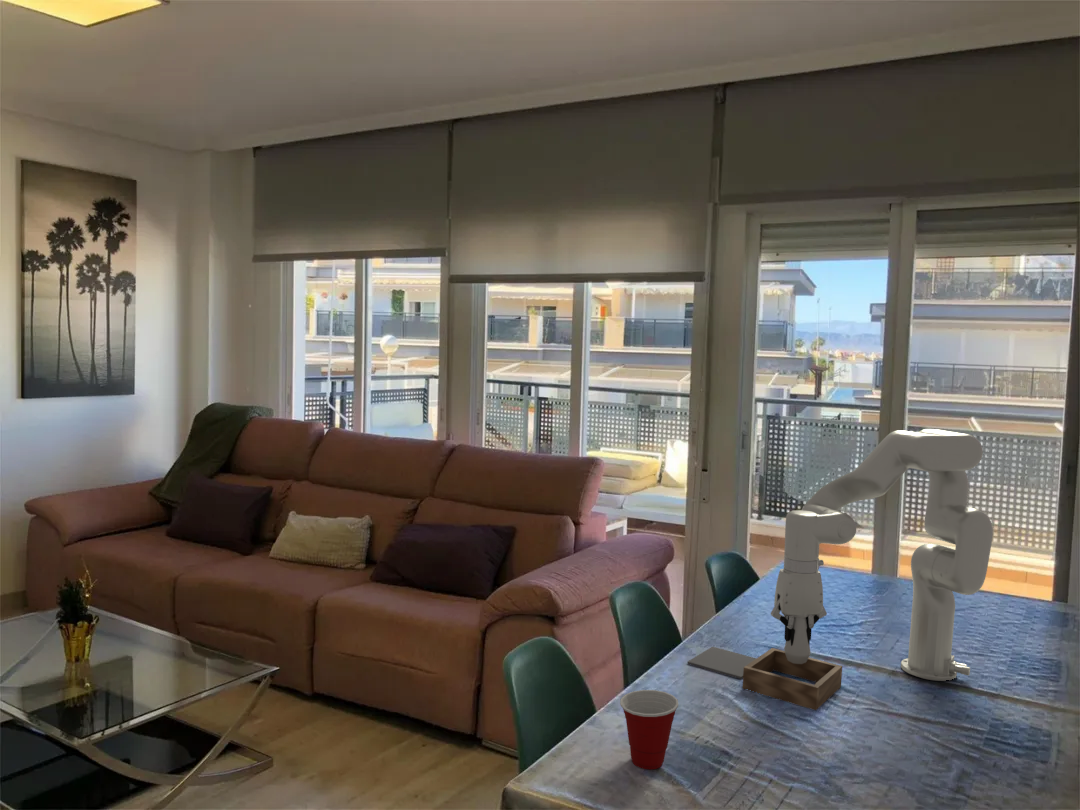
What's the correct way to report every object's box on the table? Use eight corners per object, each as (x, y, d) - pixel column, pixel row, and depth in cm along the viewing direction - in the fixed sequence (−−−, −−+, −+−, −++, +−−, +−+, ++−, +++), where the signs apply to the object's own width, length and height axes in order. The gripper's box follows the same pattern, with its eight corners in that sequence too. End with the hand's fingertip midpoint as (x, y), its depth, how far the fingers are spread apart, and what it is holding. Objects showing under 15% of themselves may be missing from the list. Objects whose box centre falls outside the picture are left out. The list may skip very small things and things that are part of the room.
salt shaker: (811, 666, 193) (813, 610, 192) (784, 664, 194) (787, 608, 193) (808, 657, 199) (810, 602, 198) (782, 654, 200) (785, 600, 199)
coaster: (764, 662, 212) (764, 660, 212) (741, 679, 201) (741, 676, 200) (712, 648, 220) (712, 646, 220) (687, 663, 209) (687, 661, 209)
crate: (840, 686, 198) (842, 666, 198) (816, 710, 185) (817, 688, 185) (770, 667, 209) (772, 647, 208) (742, 688, 195) (743, 667, 195)
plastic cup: (612, 748, 164) (615, 687, 163) (667, 748, 165) (670, 687, 164) (622, 777, 153) (625, 712, 152) (681, 777, 154) (685, 712, 153)
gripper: (826, 560, 200) (823, 636, 201) (760, 561, 197) (757, 639, 199) (842, 569, 192) (838, 648, 194) (773, 570, 190) (770, 650, 191)
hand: (797, 642), depth 196 cm, fingers closed on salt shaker, 3 cm apart
